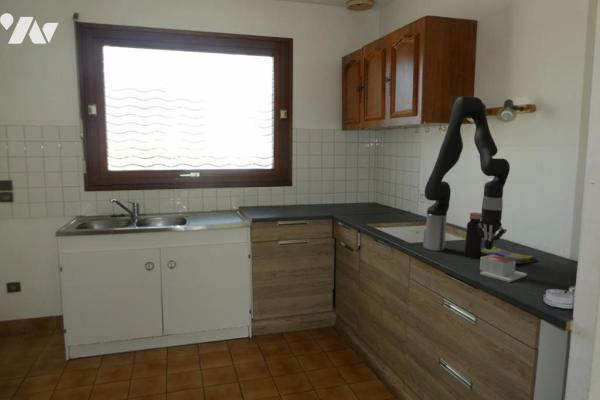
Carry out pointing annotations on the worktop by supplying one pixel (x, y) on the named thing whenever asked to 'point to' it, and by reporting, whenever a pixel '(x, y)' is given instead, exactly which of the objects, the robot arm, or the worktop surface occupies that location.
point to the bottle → (473, 237)
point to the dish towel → (508, 255)
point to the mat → (506, 278)
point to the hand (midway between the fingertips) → (488, 249)
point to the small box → (497, 265)
